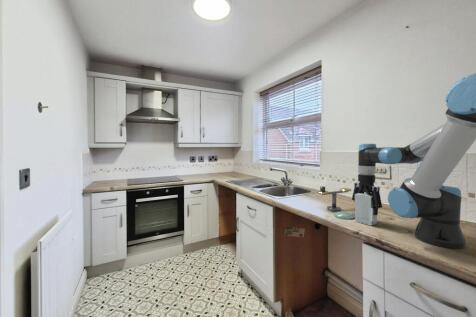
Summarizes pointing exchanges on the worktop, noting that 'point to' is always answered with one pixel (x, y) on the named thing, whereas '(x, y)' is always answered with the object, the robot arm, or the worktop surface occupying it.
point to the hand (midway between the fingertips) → (365, 217)
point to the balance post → (334, 204)
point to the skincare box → (363, 209)
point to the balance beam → (342, 190)
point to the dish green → (344, 215)
